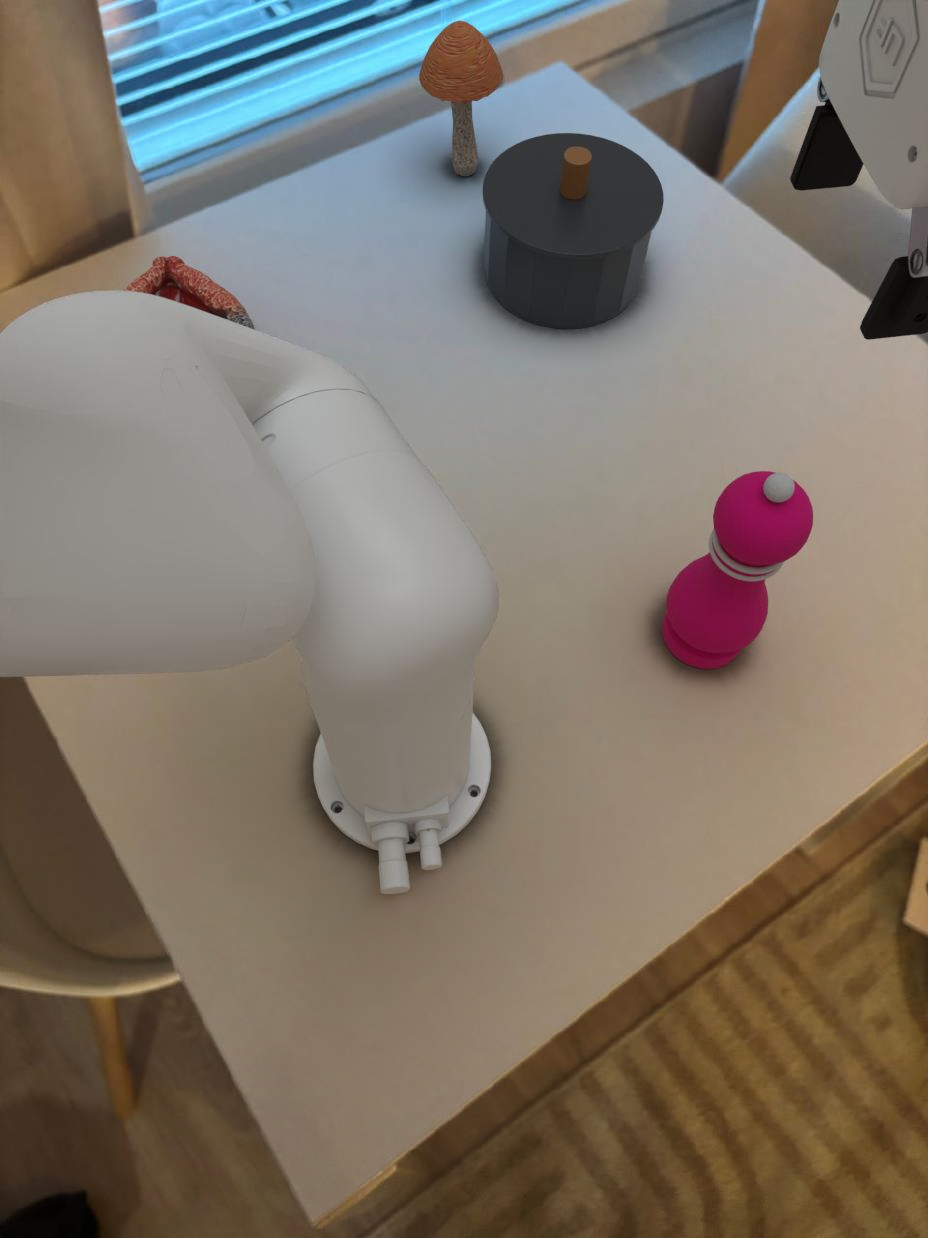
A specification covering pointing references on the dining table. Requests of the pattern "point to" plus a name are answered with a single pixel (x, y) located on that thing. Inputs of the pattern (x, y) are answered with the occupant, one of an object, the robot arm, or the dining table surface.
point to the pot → (560, 282)
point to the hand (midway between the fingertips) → (855, 254)
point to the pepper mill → (736, 569)
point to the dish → (189, 289)
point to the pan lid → (572, 195)
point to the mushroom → (461, 83)
